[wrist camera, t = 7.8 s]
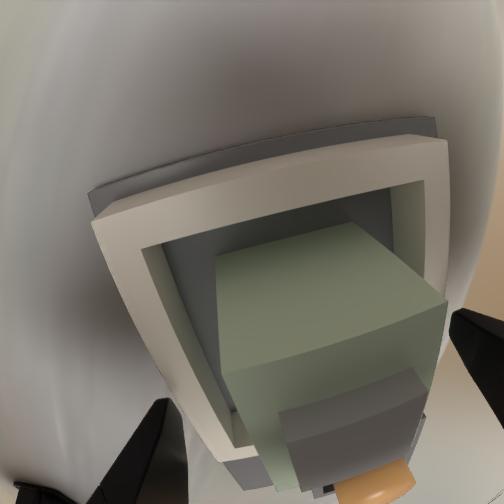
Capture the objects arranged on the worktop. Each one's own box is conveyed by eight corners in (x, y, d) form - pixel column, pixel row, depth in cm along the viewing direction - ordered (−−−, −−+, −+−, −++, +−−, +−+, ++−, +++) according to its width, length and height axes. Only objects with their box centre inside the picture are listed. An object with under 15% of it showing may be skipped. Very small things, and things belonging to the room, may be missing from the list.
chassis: (401, 435, 17) (417, 465, 15) (242, 483, 17) (247, 517, 15) (424, 116, 9) (477, 121, 7) (93, 189, 9) (55, 214, 6)
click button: (391, 458, 14) (408, 495, 12) (328, 481, 14) (341, 521, 12) (399, 427, 13) (423, 470, 10) (326, 454, 13) (343, 503, 10)
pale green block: (359, 355, 12) (420, 464, 7) (256, 385, 12) (281, 512, 7) (351, 221, 10) (471, 322, 4) (215, 256, 10) (223, 408, 4)
